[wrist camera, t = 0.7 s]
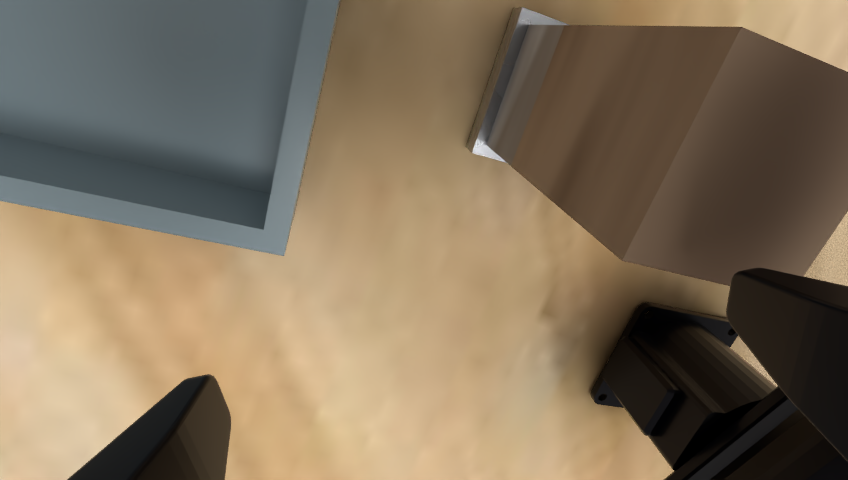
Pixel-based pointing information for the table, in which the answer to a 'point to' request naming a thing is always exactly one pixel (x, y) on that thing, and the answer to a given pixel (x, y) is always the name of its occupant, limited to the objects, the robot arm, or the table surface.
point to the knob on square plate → (502, 77)
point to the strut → (682, 143)
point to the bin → (163, 111)
